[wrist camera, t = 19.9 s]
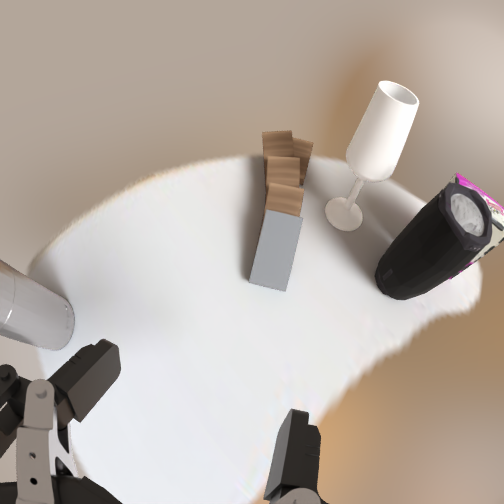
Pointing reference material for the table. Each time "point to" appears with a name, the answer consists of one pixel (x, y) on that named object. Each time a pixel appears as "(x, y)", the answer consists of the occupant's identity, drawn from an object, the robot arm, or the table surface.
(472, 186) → the candy bar box
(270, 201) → the walnut domino
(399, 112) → the champagne flute
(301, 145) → the walnut domino
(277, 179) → the walnut domino
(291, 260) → the grey domino
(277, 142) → the walnut domino
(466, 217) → the portable speaker
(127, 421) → the table surface
